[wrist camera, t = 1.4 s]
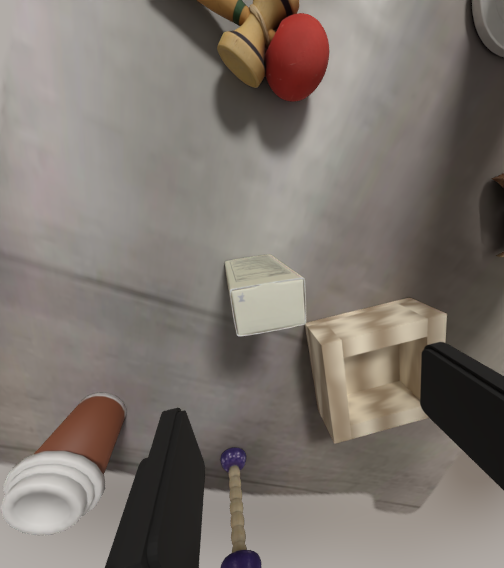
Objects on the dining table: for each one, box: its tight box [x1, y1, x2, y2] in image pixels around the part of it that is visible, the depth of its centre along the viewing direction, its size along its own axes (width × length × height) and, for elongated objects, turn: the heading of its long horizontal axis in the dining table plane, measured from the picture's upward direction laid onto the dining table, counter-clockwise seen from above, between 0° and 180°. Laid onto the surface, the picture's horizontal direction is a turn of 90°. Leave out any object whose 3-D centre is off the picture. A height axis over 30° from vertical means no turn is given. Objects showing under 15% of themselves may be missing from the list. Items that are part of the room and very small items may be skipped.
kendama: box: [197, 0, 329, 102], centre depth 21 cm, size 8×6×18 cm
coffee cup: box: [0, 393, 126, 535], centre depth 28 cm, size 9×9×12 cm
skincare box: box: [225, 254, 306, 336], centre depth 25 cm, size 6×4×12 cm
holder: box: [305, 297, 447, 444], centre depth 34 cm, size 16×16×6 cm
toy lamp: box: [221, 448, 261, 568], centre depth 31 cm, size 5×5×17 cm
